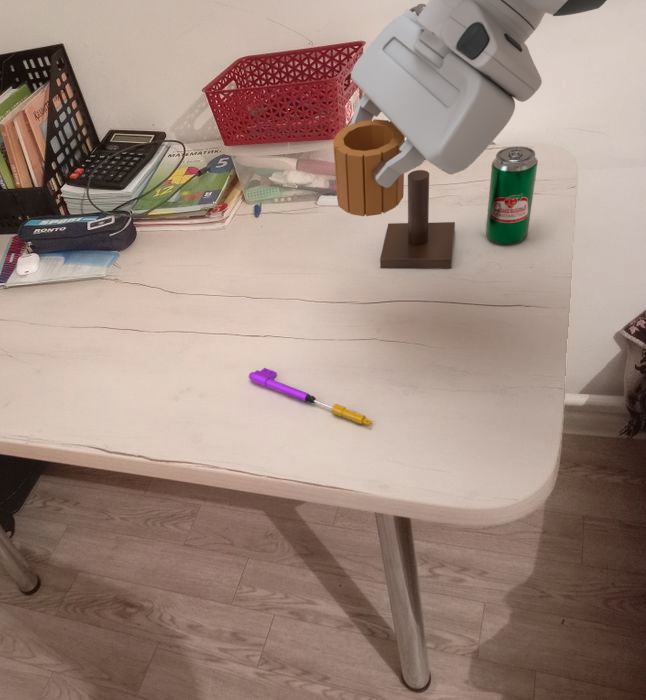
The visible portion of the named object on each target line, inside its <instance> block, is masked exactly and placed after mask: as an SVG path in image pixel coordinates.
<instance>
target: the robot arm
mask: <svg viewBox="0 0 646 700" xmlns="http://www.w3.org/2000/svg"><path fill="white" fill-rule="evenodd" d="M607 1H608V0H428V2H427V4H425V3H418V4H417V5H415V6H413V7H411V8H410V9H406V10H404V11H403V13H401V15H400V16H396V17H395V18H393V19H392V20H391V21H390V22H389V23H387V24H386V26H385V27H384V28H383V29H382V30H381V31H380V33H378V34H377V36H376V37H375V38H374V39H373V41H371V43H370V44H369V45H368V46H367V48H366V49H365V50H364V52H362V54H361V55H360V56H359V58H358V59H357V60H356V62H355V64H354V65H353V67H352V69H351V74H350V80H351V81H352V82H353V83H354V84H355V85H356V86H357V87H358V88H359V89H360V90H361V91H362V93H364V94H363V95H362V96H361V97H360V99H359V100H358V102H357V104H356V106H355V110H354V112H353V115H352V118H351V120H350V124H349V125H351V124H353V123H355V124H356V123H357V122H361V121H367V120H372V121H373V120H374V117H376V118H377V117H379V115H380V114H381V113H382V114H383V115H384V116H385V117H386V118H387V119H388V121H389V122H390V121H391V122H392V123H393V124H394V125H395V126H396V128H397V129H398V130H399V131H400V132H401V133H402V134H403V135H404V136H405V142H404V143H403V144H402V146H401V147H400V148H399V150H400V151H401V153H399V154H398V155H396V156H395V157H394V158H392V159H391V160H389V161H388V162H385V161H384V160H381V162H380V163H379V164H378V165H377V168H375V169H374V170H373V171H372V176H373V178H374V179H375V180H376V182H377V183H378V184H380V185H381V186H383V187H385V188H388V187H390V186H391V185H392V184H393V183H394V182H395V181H396V179H397V178H398V177H399V176H400V175H402V174H404V175H405V174H406V173H408V172H411V171H413V170H414V169H416V168H418V167H419V166H421V165H422V164H423V163H424V161H425V160H426V161H427V162H428V163H430V164H431V165H433V166H434V167H436V168H437V169H439V170H440V171H442V172H444V173H446V174H447V175H455V174H457V173H459V172H462V171H464V170H466V169H467V168H469V167H470V166H471V165H472V164H473V163H475V161H477V159H478V158H479V157H480V156H481V155H482V154H483V153H484V152H485V150H486V149H487V148H488V147H489V146H490V145H491V144H492V143H493V142H494V140H495V139H496V138H497V137H498V136H499V135H500V133H501V132H502V131H503V130H504V129H505V127H506V126H507V125H508V124H509V122H510V120H511V119H512V117H513V115H514V113H515V110H516V101H518V102H521V103H523V102H526V101H528V100H529V99H531V98H532V97H533V96H534V95H535V94H536V92H537V91H538V90H539V89H540V88H541V85H542V82H543V81H542V76H541V75H540V73H539V70H538V68H537V67H536V64H535V62H534V60H533V58H532V56H531V53H530V49H529V48H528V46H527V44H526V42H527V40H528V39H529V38H530V37H531V35H532V34H533V33H535V31H536V30H537V28H538V27H539V25H540V24H541V22H542V20H543V18H544V16H545V14H548V15H552V17H562V16H563V17H564V16H572V15H576V14H582V13H586V12H590V11H594V10H597V9H598V10H599V9H600V8H601V7H602V6H603V5H604V4H605V3H606V2H607ZM515 100H516V101H515Z"/></svg>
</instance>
